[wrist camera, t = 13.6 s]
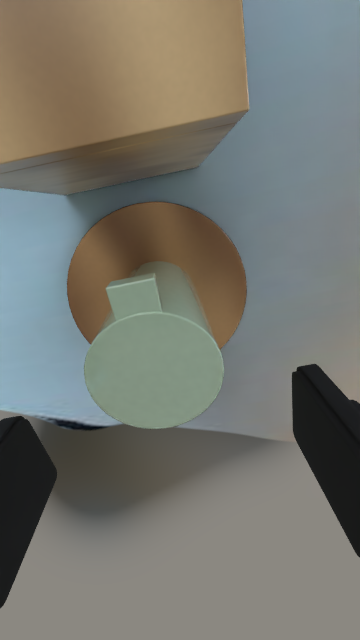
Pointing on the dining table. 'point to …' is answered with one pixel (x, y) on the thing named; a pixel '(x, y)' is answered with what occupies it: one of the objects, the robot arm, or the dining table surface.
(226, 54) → the shelf unit
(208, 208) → the dining table surface
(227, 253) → the disc
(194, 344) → the jug
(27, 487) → the robot arm
